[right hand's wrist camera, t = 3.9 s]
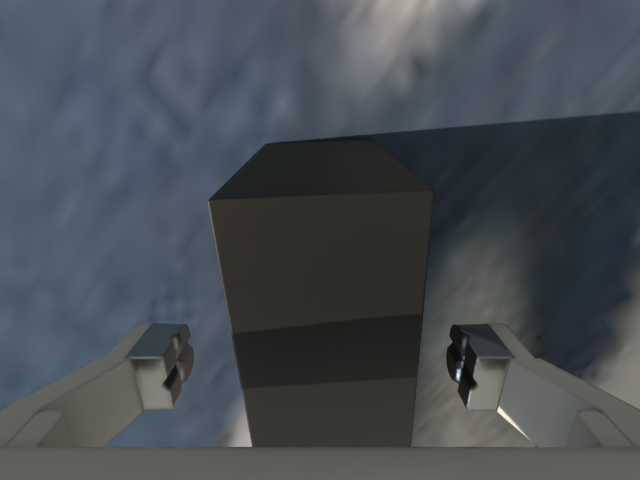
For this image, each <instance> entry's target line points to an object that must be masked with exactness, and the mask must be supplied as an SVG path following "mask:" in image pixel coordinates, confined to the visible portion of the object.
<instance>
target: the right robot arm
mask: <svg viewBox="0 0 640 480" xmlns="http://www.w3.org/2000/svg"><path fill="white" fill-rule="evenodd" d="M189 338H190V331H189V327H188V326H187V325H186V324H152V323H151V324H135V325H134V326H133V327H132V328H131V329H130V330H129V331H128V332H127V334H126V335H125V336H124V337H123V338H122V339H121V341H120V342H119V343H118V344H117V345H116V346H115V347H114V349H113V350H112V351H111V352H110V353H109V354H108V356H107V357H106V358H99V359H98V360H96V361H94V362H92V363H90V364H88V365H86V366H84V367H82V368H80V369H78V370H76V371H74V372H72V373H70V374H68V375H66V376H64V377H62V378H61V379H59V380H57V381H55V382H53V383H51V384H49V385H47V386H45V387H43V388H41V389H39V390H37V391H35V392H33V393H31V394H29V395H27V396H25V397H24V398H22V399H20V400H18V401H16V402H14V403H12V404H10V405H8V406H6V407H4V408H2V409H1V410H0V480H640V410H639V409H638V408H636V407H634V406H632V405H630V404H628V403H626V402H624V401H622V400H620V399H618V398H616V397H614V396H612V395H610V394H609V393H607V392H605V391H603V390H601V389H599V388H597V387H595V386H593V385H591V384H589V383H587V382H585V381H583V380H581V379H579V378H577V377H575V376H574V375H572V374H570V373H568V372H566V371H564V370H562V369H560V368H558V367H556V366H554V365H552V364H550V363H548V362H546V361H544V360H542V359H541V358H534V357H533V356H532V354H531V353H530V352H529V351H528V350H527V349H526V347H525V346H524V345H523V344H522V343H521V342H520V341H519V339H518V338H517V337H516V336H515V335H514V334H513V332H512V331H511V330H510V329H509V328H508V327H507V326H506V325H505V324H503V323H495V324H462V325H452V327H451V330H450V338H451V339H452V341H453V343H452V344H451V345H450V346H449V347H448V348H447V356H446V359H447V367H448V371H449V374H450V376H451V378H452V380H454V381H455V382H456V383H458V384H459V387H458V393H459V395H460V397H461V399H462V401H463V403H464V405H465V407H466V409H467V410H497V412H498V413H499V414H500V415H501V416H503V417H504V418H505V419H506V420H507V421H508V422H510V423H511V424H512V425H513V426H514V427H515V428H517V429H518V430H519V431H520V432H521V433H522V434H524V435H525V436H526V437H527V438H528V439H529V440H531V441H532V442H533V443H534V444H535V445H536V446H538V447H102V446H104V445H105V444H106V443H107V442H108V441H110V440H111V439H112V438H113V437H114V436H115V435H117V434H118V433H119V432H120V431H121V430H122V429H124V428H125V427H126V426H127V425H128V424H129V423H131V422H132V421H133V420H134V419H135V418H136V417H138V416H139V415H140V414H141V413H142V412H143V411H142V410H173V409H174V407H175V405H176V403H177V401H178V399H179V397H180V395H181V393H182V387H181V384H182V383H184V382H185V381H186V380H188V378H189V376H190V374H191V371H192V367H193V356H194V354H193V348H192V347H191V346H190V345H189V344H188V343H187V341H188V339H189Z"/></svg>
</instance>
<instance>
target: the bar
mask: <svg viewBox="0 0 640 480" xmlns="http://www.w3.org/2000/svg"><path fill="white" fill-rule="evenodd" d="M433 200H434V190H433V189H432V188H431V187H429V186H428V185H427V184H426V183H425V182H423V181H422V180H421V179H420V178H419V177H417V176H416V175H415V174H414V173H413V172H411V171H410V170H409V169H408V168H406V167H405V166H404V165H403V164H402V163H400V162H399V161H398V160H397V159H396V158H394V157H393V156H392V155H391V154H390V153H388V152H387V151H386V150H385V149H384V148H382V147H381V146H380V145H379V144H377V143H376V142H375V141H374V140H373V139H355V140H334V141H312V142H291V143H269V144H265V145H264V146H263V147H262V148H261V149H260V150H259V151H258V152H257V153H256V154H255V155H254V156H253V157H252V158H251V159H250V160H248V161H247V162H246V163H245V164H244V165H243V166H242V167H241V168H240V169H239V170H238V171H237V172H236V173H235V174H234V175H233V176H232V177H231V178H230V179H229V180H228V181H227V182H226V183H225V184H224V185H223V186H222V187H221V188H220V189H219V190H218V191H217V192H216V193H215V194H214V195H213V196H212V197H211V198H210V199H209V200H208V207H209V212H210V218H211V223H212V229H213V234H214V240H215V245H216V251H217V256H218V262H219V267H220V273H221V278H222V284H223V289H224V295H225V300H226V306H227V311H228V317H229V322H230V328H231V333H232V339H233V344H234V350H235V355H236V361H237V366H238V372H239V377H240V383H241V388H242V394H243V399H244V404H245V410H246V415H247V421H248V426H249V432H250V437H251V443H252V447H411V439H412V428H413V417H414V407H415V396H416V385H417V374H418V363H419V352H420V341H421V330H422V320H423V309H424V298H425V287H426V276H427V265H428V254H429V243H430V233H431V222H432V211H433Z"/></svg>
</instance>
